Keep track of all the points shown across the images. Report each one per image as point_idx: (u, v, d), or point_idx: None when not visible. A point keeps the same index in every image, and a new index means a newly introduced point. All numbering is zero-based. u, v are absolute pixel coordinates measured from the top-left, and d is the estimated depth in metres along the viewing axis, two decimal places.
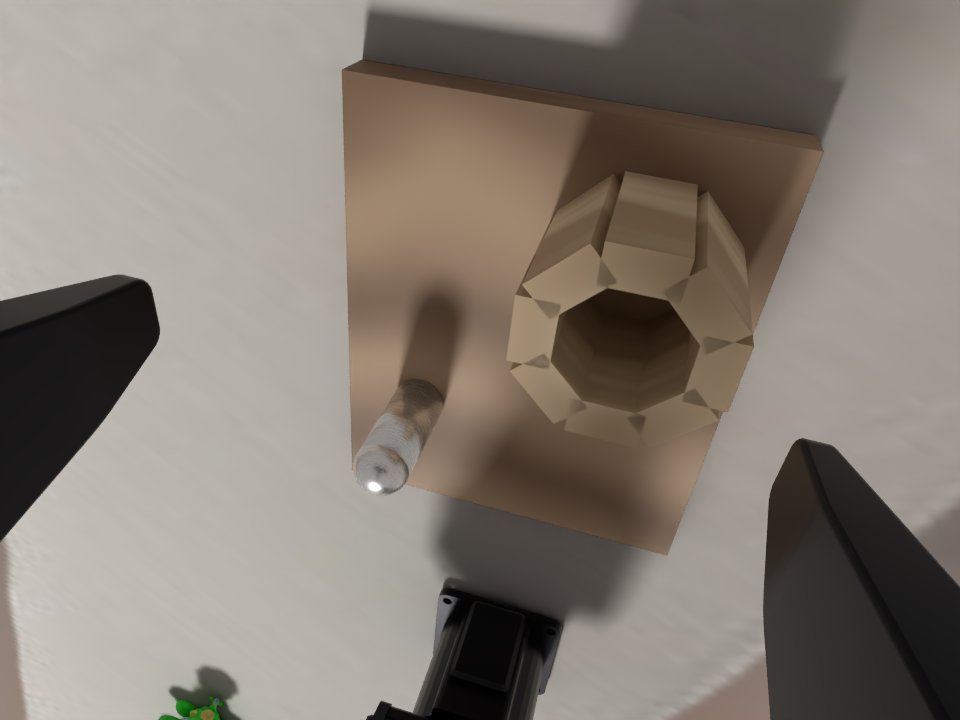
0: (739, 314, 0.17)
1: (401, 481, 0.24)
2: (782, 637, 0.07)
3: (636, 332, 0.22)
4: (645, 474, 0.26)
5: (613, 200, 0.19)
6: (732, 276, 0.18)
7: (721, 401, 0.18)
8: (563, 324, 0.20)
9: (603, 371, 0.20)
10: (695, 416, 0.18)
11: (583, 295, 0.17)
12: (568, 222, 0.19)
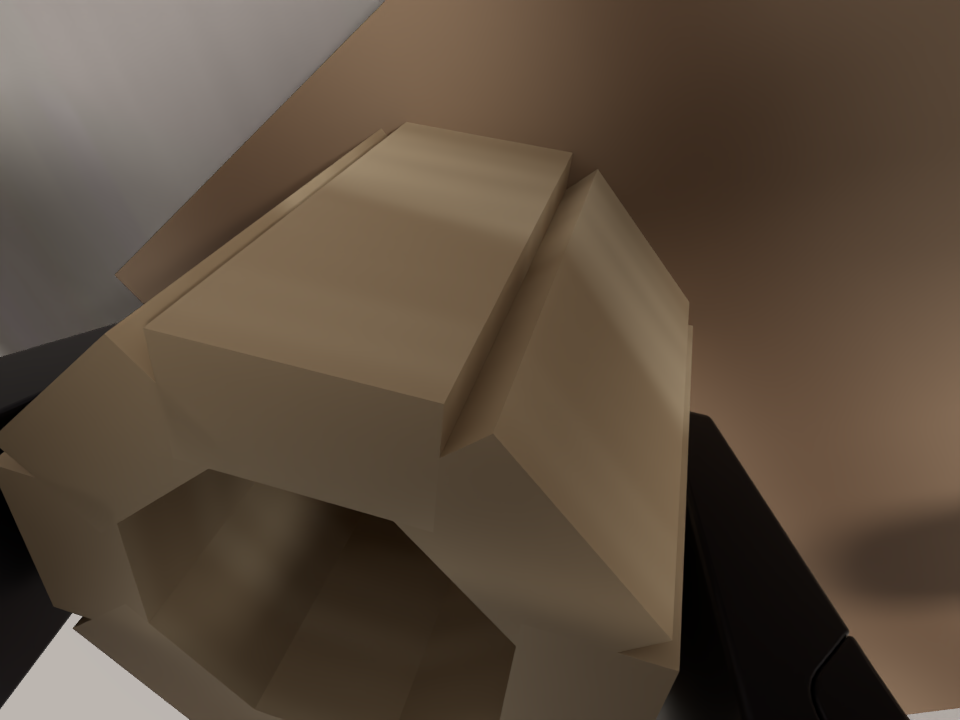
0: (15, 506, 0.06)
1: None
2: None
3: None
4: None
5: None
6: None
7: (113, 376, 0.05)
8: None
9: None
10: (213, 390, 0.05)
11: None
12: None
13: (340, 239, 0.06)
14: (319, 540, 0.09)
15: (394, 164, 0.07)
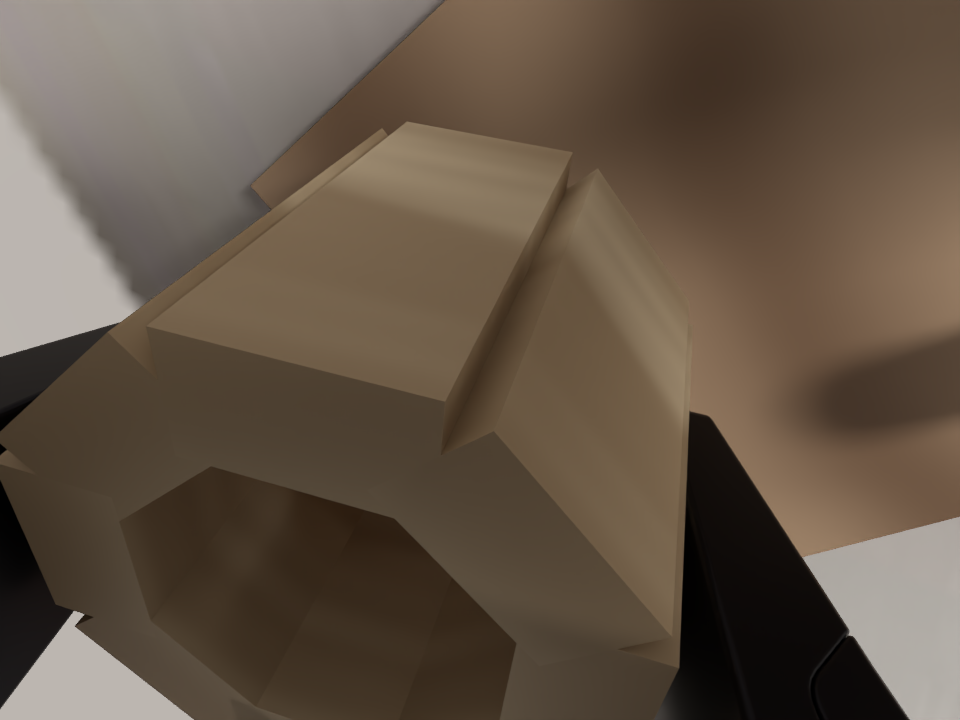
0: (18, 504, 0.06)
1: None
2: None
3: None
4: None
5: None
6: None
7: (116, 374, 0.05)
8: None
9: None
10: (217, 389, 0.05)
11: None
12: None
13: (342, 238, 0.06)
14: (320, 538, 0.09)
15: (395, 163, 0.07)
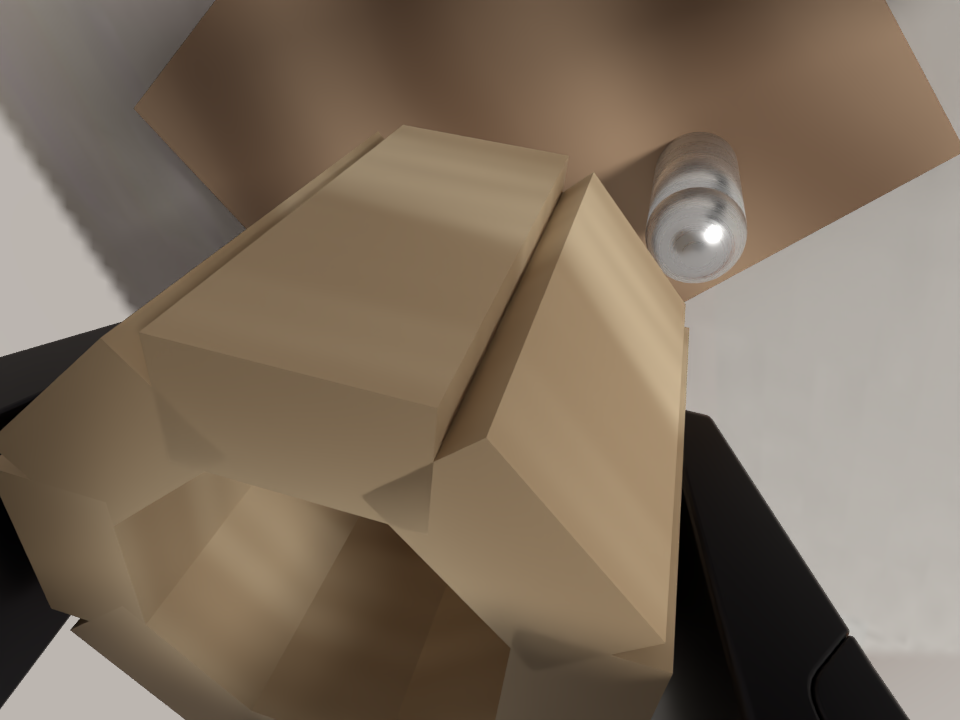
0: (13, 508, 0.06)
1: (669, 209, 0.14)
2: None
3: None
4: None
5: None
6: None
7: (110, 380, 0.05)
8: None
9: None
10: (210, 394, 0.05)
11: None
12: None
13: (336, 243, 0.06)
14: (316, 541, 0.09)
15: (391, 167, 0.07)
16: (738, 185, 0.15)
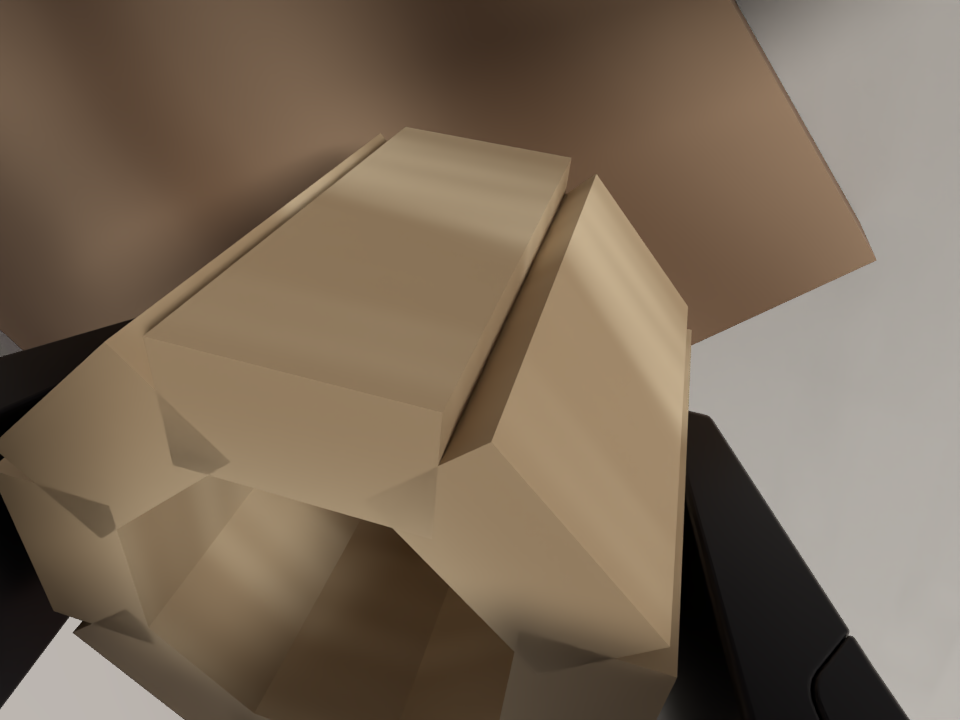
0: (16, 511, 0.06)
1: None
2: None
3: None
4: None
5: None
6: None
7: (114, 383, 0.05)
8: None
9: None
10: (214, 397, 0.05)
11: None
12: None
13: (339, 246, 0.06)
14: (318, 543, 0.09)
15: (393, 170, 0.07)
16: None
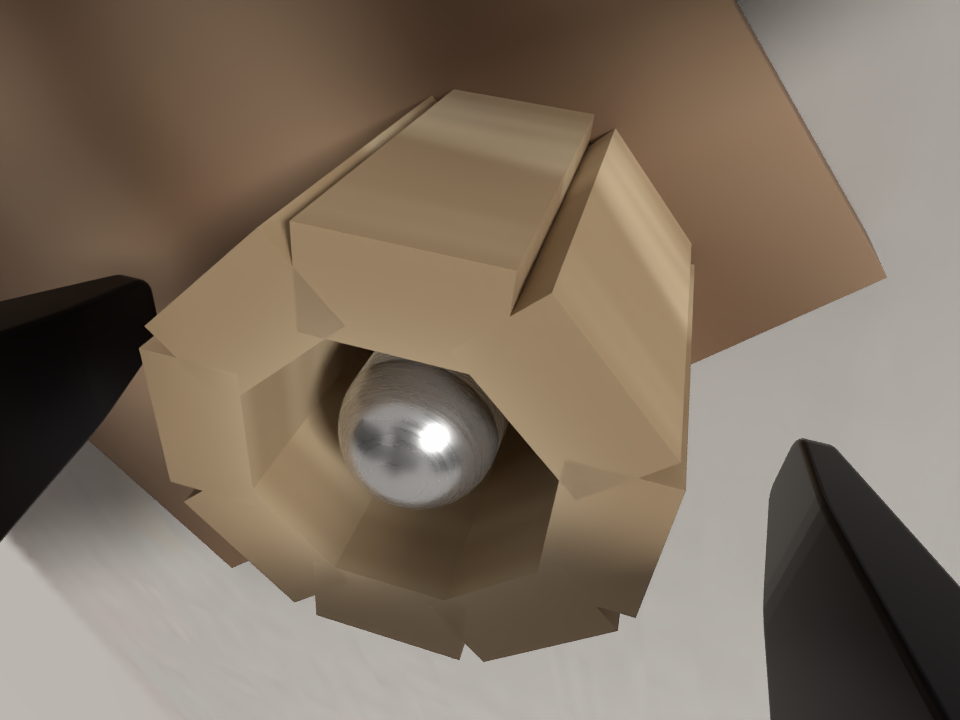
0: (152, 388, 0.08)
1: (357, 397, 0.08)
2: (782, 637, 0.07)
3: None
4: None
5: None
6: None
7: (259, 263, 0.07)
8: None
9: None
10: (339, 270, 0.06)
11: (380, 587, 0.09)
12: None
13: (419, 170, 0.07)
14: None
15: (450, 120, 0.09)
16: None
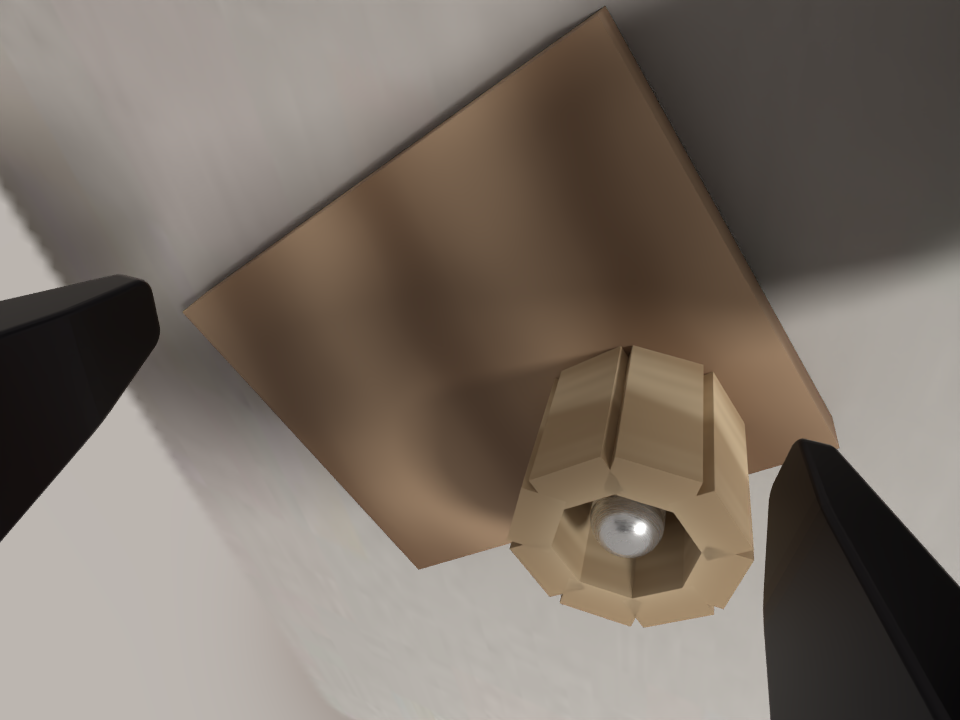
0: (517, 502, 0.18)
1: (608, 510, 0.18)
2: (782, 637, 0.07)
3: None
4: (501, 171, 0.19)
5: None
6: None
7: (595, 467, 0.17)
8: (683, 532, 0.20)
9: None
10: (630, 473, 0.17)
11: (600, 591, 0.19)
12: None
13: (645, 418, 0.18)
14: (583, 518, 0.21)
15: (642, 375, 0.19)
16: None
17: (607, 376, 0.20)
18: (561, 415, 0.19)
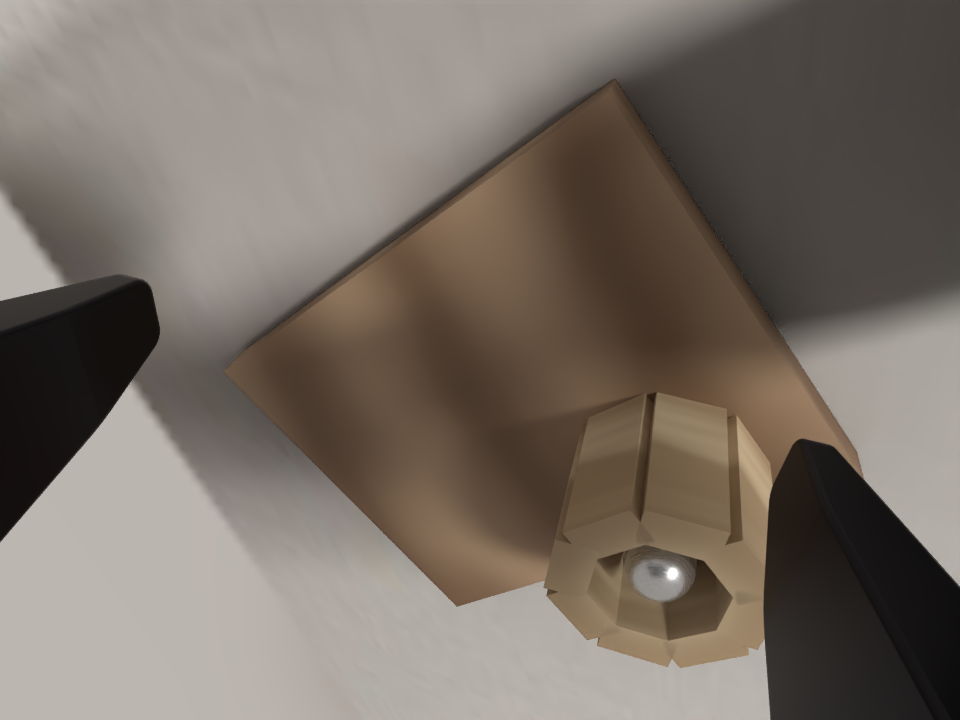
0: (552, 552, 0.19)
1: (640, 557, 0.19)
2: (783, 637, 0.07)
3: None
4: (522, 235, 0.19)
5: None
6: (560, 517, 0.20)
7: (625, 519, 0.17)
8: None
9: None
10: (659, 525, 0.17)
11: (636, 634, 0.20)
12: None
13: (672, 469, 0.18)
14: (616, 561, 0.21)
15: (667, 424, 0.20)
16: None
17: (633, 425, 0.20)
18: (590, 465, 0.20)
